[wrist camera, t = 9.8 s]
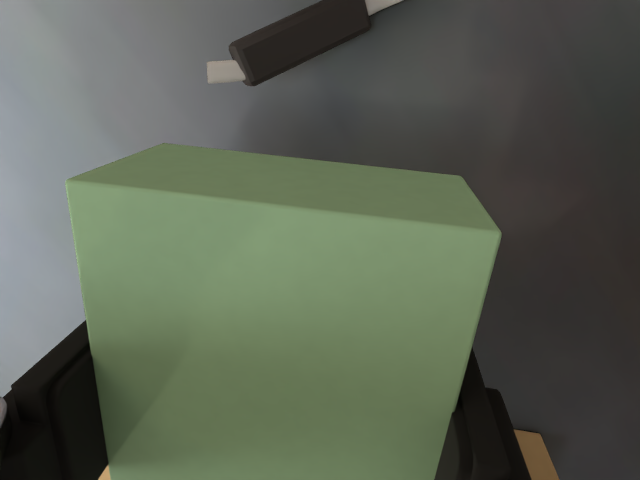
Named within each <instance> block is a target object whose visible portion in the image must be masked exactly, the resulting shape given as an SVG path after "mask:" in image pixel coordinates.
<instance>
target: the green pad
mask: <svg viewBox="0 0 640 480" xmlns="http://www.w3.org/2000/svg"><path fill="white" fill-rule="evenodd" d="M65 185H66V192H67V199H68V205H69V212H70V218H71V225H72V231H73V238H74V244H75V251H76V257H77V264H78V270H79V277H80V284H81V290H82V297H83V303H84V310H85V316H86V323H87V329H88V336H89V342H90V349H91V355H92V358H93V365H94V371H95V378H96V384H97V391H98V397H99V404H100V411H101V417H102V424H103V430H104V437H105V443H106V450H107V457H108V463H109V464H108V467H109V473H110V480H434V479H435V475H436V471H437V467H438V464H439V460H440V456H441V452H442V448H443V445H444V441H445V437H446V433H447V430H448V426H449V422H450V418H451V414H452V412H454V411H455V408H456V404H457V401H458V397H459V393H460V390H461V386H462V382H463V378H464V375H465V371H466V367H467V363H468V360H469V356H470V352H471V348H472V345H473V341H474V337H475V333H476V330H477V326H478V322H479V319H480V315H481V311H482V307H483V304H484V300H485V296H486V292H487V289H488V285H489V281H490V277H491V274H492V270H493V266H494V262H495V259H496V255H497V251H498V248H499V244H500V240H501V236H502V234H501V231H500V230H499V228H498V227H497V225H496V224H495V222H494V221H493V220H492V218H491V217H490V215H489V214H488V213H487V211H486V210H485V208H484V207H483V206H482V204H481V203H480V201H479V200H478V199H477V197H476V196H475V194H474V193H473V192H472V190H471V189H470V187H469V186H468V185H467V183H466V182H465V180H464V179H463V178H462V177H461V176H457V175H447V174H438V173H429V172H420V171H411V170H402V169H393V168H384V167H375V166H366V165H357V164H348V163H339V162H330V161H321V160H312V159H303V158H294V157H285V156H276V155H267V154H258V153H249V152H240V151H231V150H221V149H212V148H203V147H194V146H185V145H176V144H167V143H162V144H160V145H157V146H154V147H152V148H149V149H146V150H144V151H141V152H138V153H136V154H133V155H131V156H128V157H125V158H123V159H120V160H117V161H115V162H112V163H109V164H107V165H104V166H101V167H99V168H96V169H93V170H91V171H88V172H85V173H83V174H80V175H77V176H75V177H72V178H70V179H67V180H66V182H65Z"/></svg>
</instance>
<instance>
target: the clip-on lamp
mask: <svg viewBox="0 0 640 480" xmlns="http://www.w3.org/2000/svg"><path fill="white" fill-rule="evenodd" d="M401 1H403V0H322V1H320V2H318V3H316V4H314V5H311V6H309V7H307V8H305V9H303V10H301V11H298V12H296V13H294V14H292V15H290V16H288V17H285V18H283V19H281V20H279V21H277V22H275V23H273V24H270V25H268V26H266V27H264V28H262V29H260V30H257V31H255V32H253V33H251V34H249V35H247V36H244V37H242V38H240V39H238V40H236V41H234V42H232V43H231V44H230V46H229V51H230V54H231V56H232V58H233V60H225V61H212V62H207V79H208V83H209V84H211V83H223V82H235V81H243V82H244V83H245V84H246V85H247V86H256V85H258V84H260V83H262V82H264V81H266V80H268V79H270V78H272V77H274V76H277V75H279V74H281V73H283V72H285V71H287V70H289V69H291V68H293V67H295V66H297V65H299V64H301V63H303V62H305V61H307V60H309V59H311V58H313V57H316V56H318V55H320V54H322V53H324V52H326V51H328V50H330V49H332V48H334V47H336V46H338V45H340V44H342V43H344V42H346V41H348V40H350V39H352V38H355V37H357V36H359V35H361V34H363V33H365V32H366V31H368V30H369V29H370V27H371V23H370V19H369V16H370V15H372V14H374V13H376V12H378V11H380V10H382V9H384V8H386V7H389V6H391V5H393V4H396V3H398V2H401Z"/></svg>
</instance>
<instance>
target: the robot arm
mask: <svg viewBox="0 0 640 480" xmlns="http://www.w3.org/2000/svg"><path fill="white" fill-rule="evenodd" d="M11 388H12V390H11V391H10V392H9V393H7V394H6V395H5V396H4V397H3V398H2V397H0V480H98V479H99V477H100V476H101V474H102V473H103V472H104V470H105V469H106V467H107V466H108V464H109V463H108V457H107V450H106V443H105V437H104V430H103V424H102V417H101V411H100V404H99V397H98V391H97V384H96V378H95V371H94V365H93V358H92V355H91V349H90V342H89V336H88V329H87V323H86V320H85V321H84V322H83V323H82V324H81V325H80V326H78V327H77V328H76V329H75V330H74V331H73V332H72V333H70V334H69V335H68V336H67V337H66V338H65V339H64V340H62V341H61V342H60V343H59V344H58V345H57V346H56V347H55V348H53V349H52V350H51V351H50V352H49V353H48V354H47V355H45V356H44V357H43V358H42V359H41V360H40V361H39V362H37V363H36V364H35V365H34V366H33V367H32V368H31V369H29V370H28V371H27V372H26V373H25V374H24V375H23V376H21V377H20V378H19V379H18V380H17V381H16V382H15V383H13V384H12V385H11ZM434 480H532V479H531V476H530V474H529V471H528V468H527V465H526V462H525V460H524V457H523V454H522V451H521V449H520V446H519V443H518V440H517V437H516V435H515V432H514V429H513V426H512V424H511V421H510V418H509V415H508V412H507V410H506V407H505V404H504V401H503V399H502V396H501V394H500V392H499V391H498V390H497V389H490V388H485V385H484V382H483V379H482V376H481V373H480V370H479V367H478V363H477V360H476V357H475V354H474V351H473V348H471V352H470V356H469V360H468V363H467V367H466V371H465V375H464V378H463V382H462V386H461V390H460V393H459V397H458V401H457V404H456V408H455V411H454V412H452V414H451V418H450V422H449V426H448V430H447V433H446V437H445V441H444V445H443V448H442V452H441V456H440V460H439V464H438V467H437V471H436V475H435V479H434Z"/></svg>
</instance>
